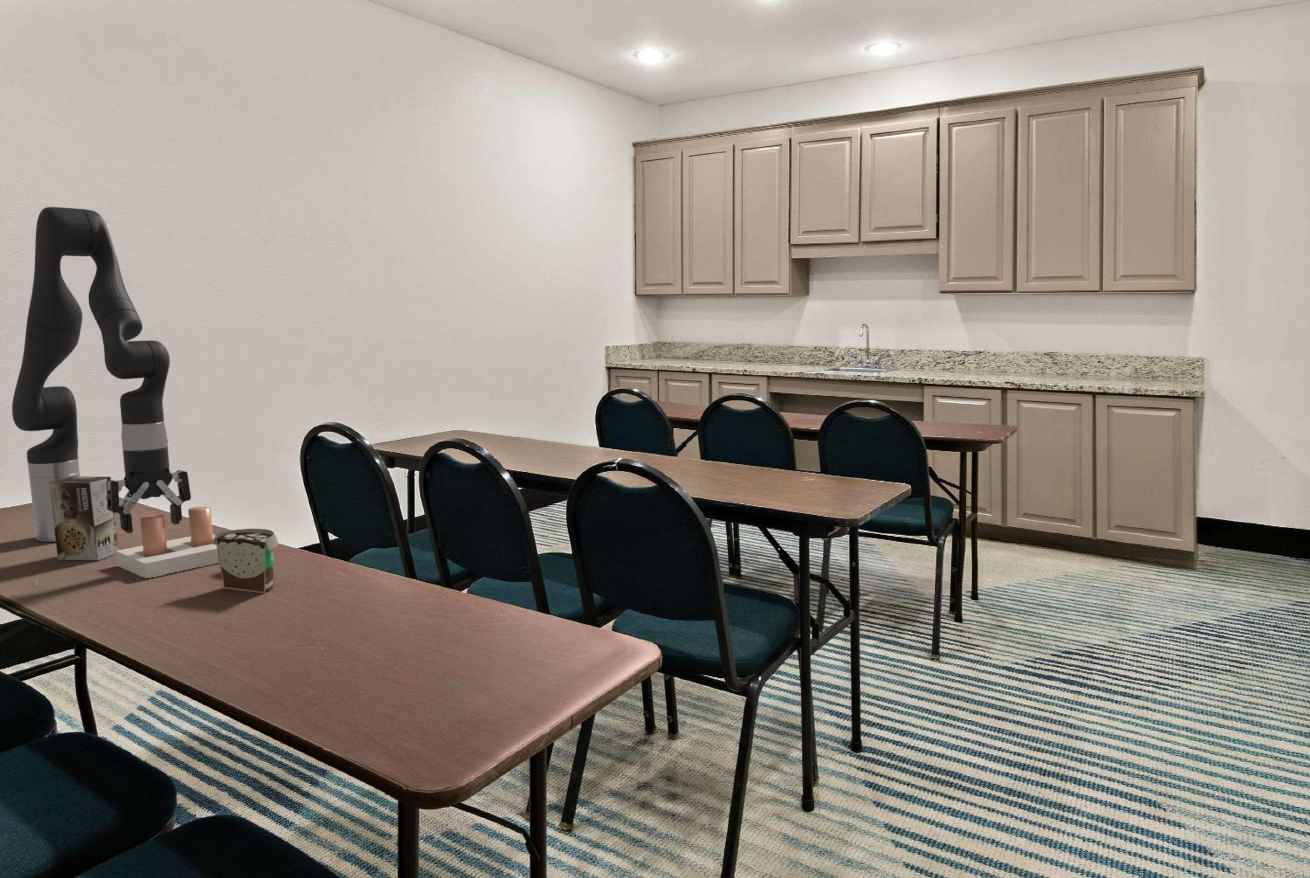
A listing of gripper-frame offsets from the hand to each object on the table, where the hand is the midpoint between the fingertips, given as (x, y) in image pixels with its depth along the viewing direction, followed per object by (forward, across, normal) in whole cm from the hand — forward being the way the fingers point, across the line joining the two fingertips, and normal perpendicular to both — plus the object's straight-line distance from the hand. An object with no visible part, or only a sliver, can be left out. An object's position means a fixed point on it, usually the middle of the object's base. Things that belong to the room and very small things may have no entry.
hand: (152, 528), depth 173 cm
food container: (+8, -6, +27) cm, 29 cm away
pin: (+8, 0, 0) cm, 8 cm away
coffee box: (+8, +6, -19) cm, 21 cm away
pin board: (+8, -4, 0) cm, 9 cm away
